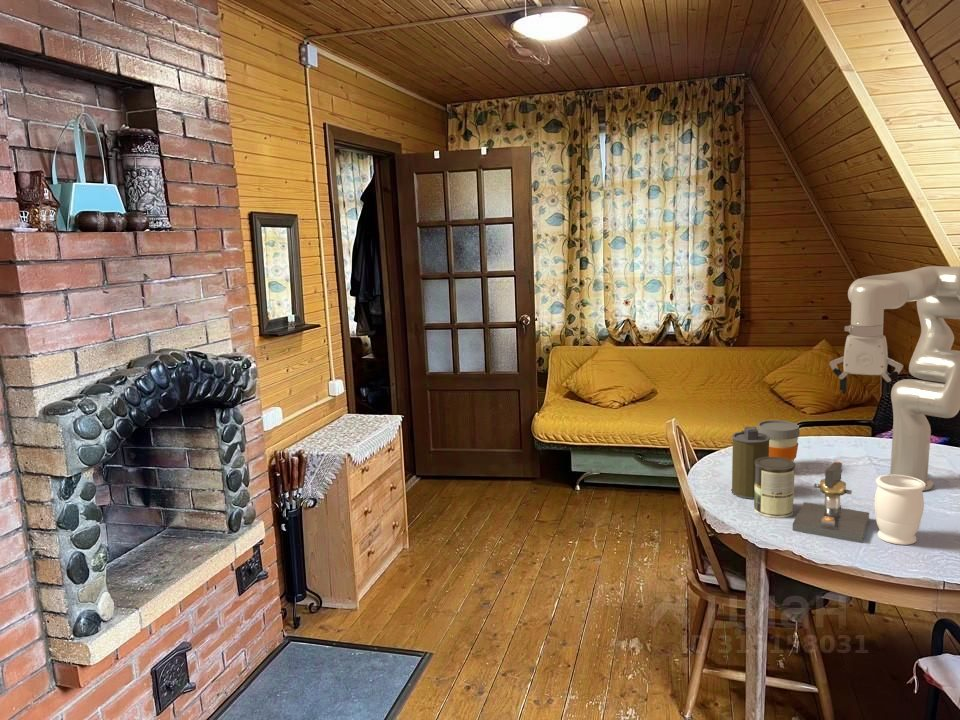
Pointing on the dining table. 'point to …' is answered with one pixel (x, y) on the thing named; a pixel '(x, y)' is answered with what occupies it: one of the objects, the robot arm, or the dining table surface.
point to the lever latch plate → (831, 520)
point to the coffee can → (774, 487)
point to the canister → (747, 460)
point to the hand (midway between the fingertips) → (864, 394)
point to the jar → (898, 508)
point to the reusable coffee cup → (781, 438)
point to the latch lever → (833, 481)
